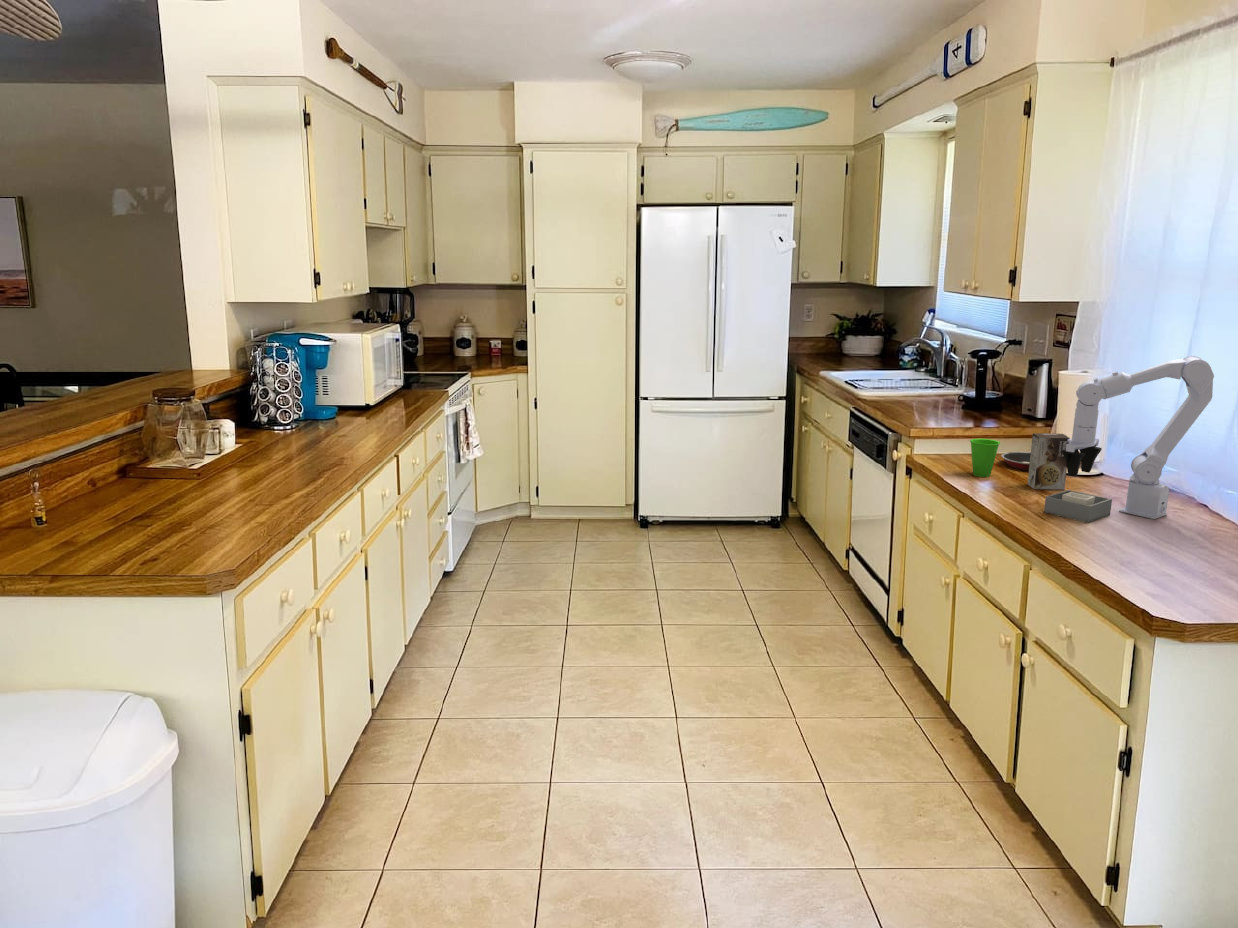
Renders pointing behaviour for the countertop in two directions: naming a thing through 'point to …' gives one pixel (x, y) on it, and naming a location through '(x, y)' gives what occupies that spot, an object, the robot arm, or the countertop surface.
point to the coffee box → (1048, 461)
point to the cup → (983, 456)
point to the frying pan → (1017, 459)
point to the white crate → (1079, 498)
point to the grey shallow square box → (1078, 507)
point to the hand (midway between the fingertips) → (1079, 473)
